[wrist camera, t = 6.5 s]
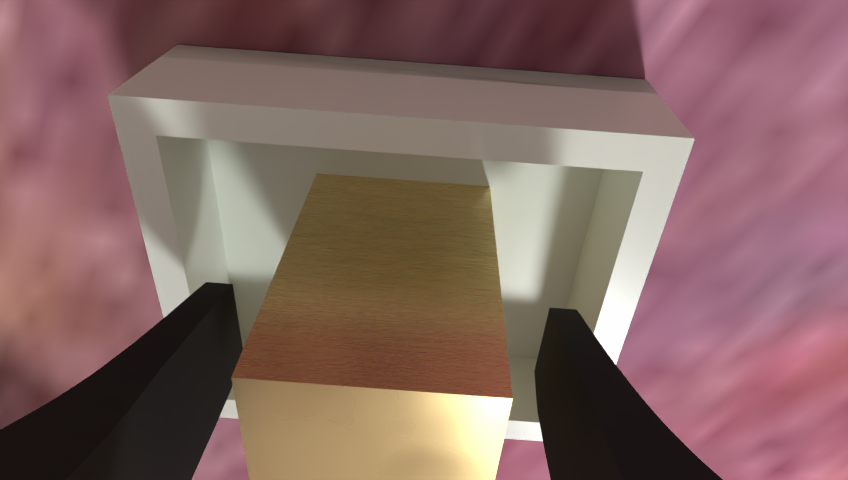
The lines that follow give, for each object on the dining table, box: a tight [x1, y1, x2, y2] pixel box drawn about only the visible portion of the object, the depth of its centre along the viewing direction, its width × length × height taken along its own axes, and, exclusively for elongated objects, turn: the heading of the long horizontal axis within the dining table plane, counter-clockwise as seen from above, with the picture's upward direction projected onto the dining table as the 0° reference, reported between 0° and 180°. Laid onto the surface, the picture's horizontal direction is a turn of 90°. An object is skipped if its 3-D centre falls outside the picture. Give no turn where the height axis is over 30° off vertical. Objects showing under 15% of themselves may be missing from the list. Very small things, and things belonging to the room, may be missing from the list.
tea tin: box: [231, 173, 513, 480], centre depth 13 cm, size 4×4×7 cm
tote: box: [107, 45, 695, 441], centre depth 16 cm, size 10×12×4 cm
